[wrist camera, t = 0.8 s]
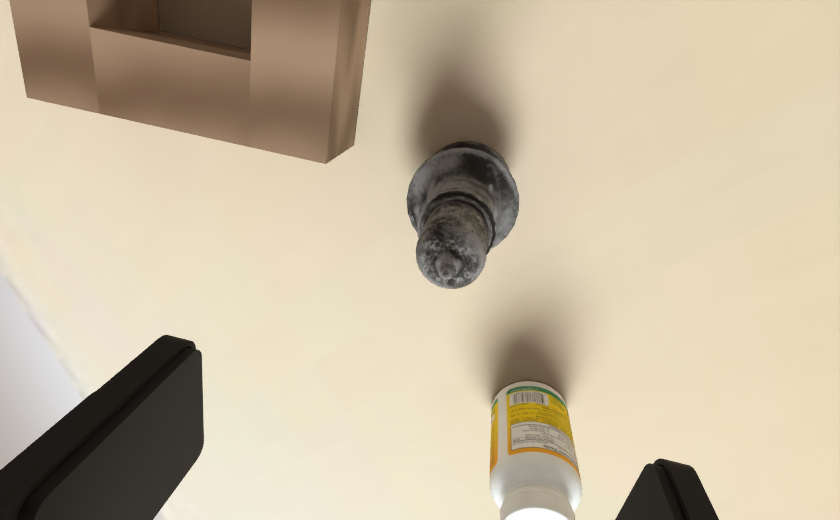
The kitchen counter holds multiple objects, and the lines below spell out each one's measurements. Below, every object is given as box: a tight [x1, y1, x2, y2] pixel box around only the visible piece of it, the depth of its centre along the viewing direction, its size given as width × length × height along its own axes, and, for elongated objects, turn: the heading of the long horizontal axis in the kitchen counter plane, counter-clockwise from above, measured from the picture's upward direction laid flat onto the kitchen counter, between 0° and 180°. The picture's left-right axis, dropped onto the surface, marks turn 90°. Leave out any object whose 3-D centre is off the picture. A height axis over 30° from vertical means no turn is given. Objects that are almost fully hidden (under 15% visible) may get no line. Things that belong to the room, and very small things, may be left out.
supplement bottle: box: [490, 381, 582, 520], centre depth 29 cm, size 5×5×10 cm
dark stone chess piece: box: [407, 141, 519, 289], centre depth 22 cm, size 6×6×12 cm
